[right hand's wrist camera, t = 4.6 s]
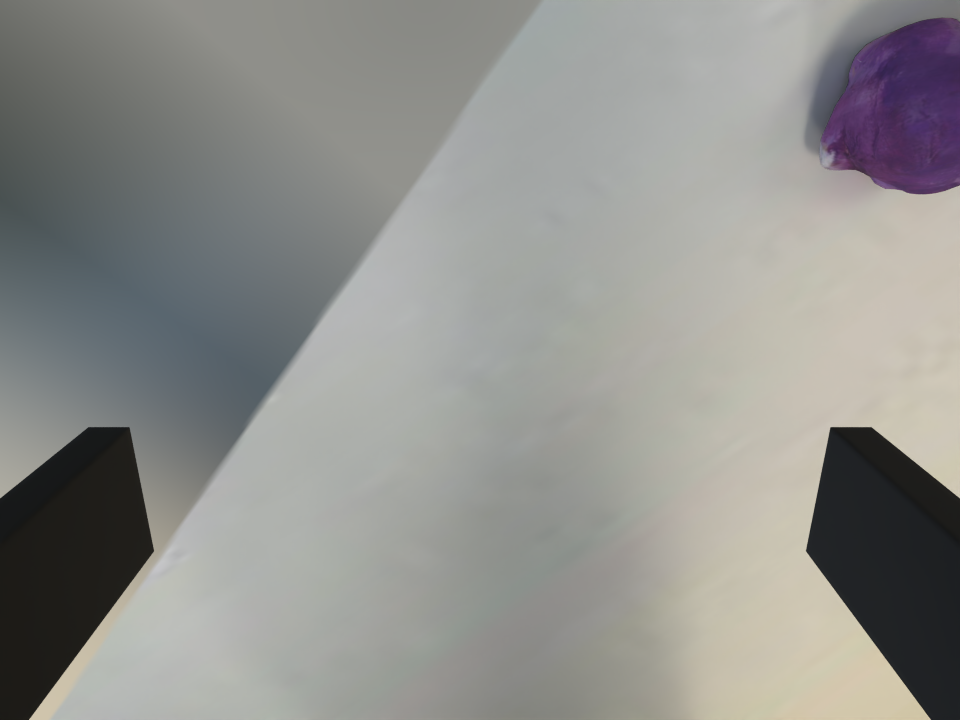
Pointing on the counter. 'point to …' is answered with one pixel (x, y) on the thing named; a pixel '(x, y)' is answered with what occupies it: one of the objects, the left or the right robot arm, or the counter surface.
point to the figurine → (901, 111)
